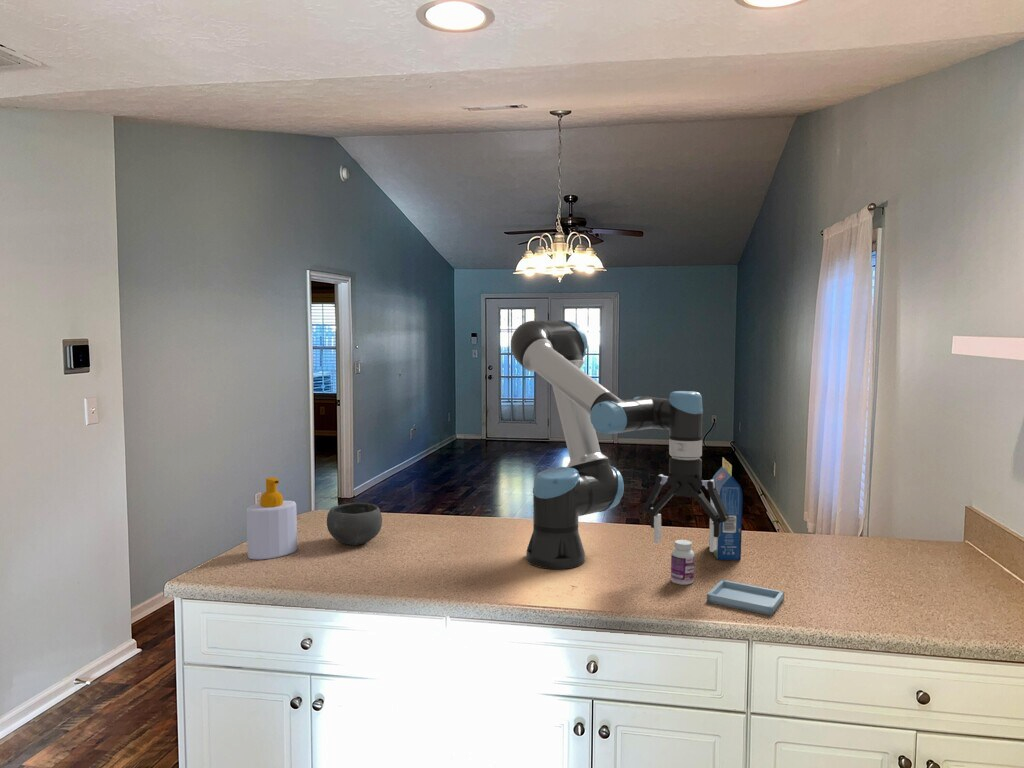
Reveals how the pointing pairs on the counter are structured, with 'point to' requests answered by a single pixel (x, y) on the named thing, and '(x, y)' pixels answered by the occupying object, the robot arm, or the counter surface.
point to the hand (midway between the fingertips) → (684, 545)
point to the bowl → (354, 522)
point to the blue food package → (732, 501)
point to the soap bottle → (271, 525)
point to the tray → (746, 597)
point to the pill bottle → (682, 563)
